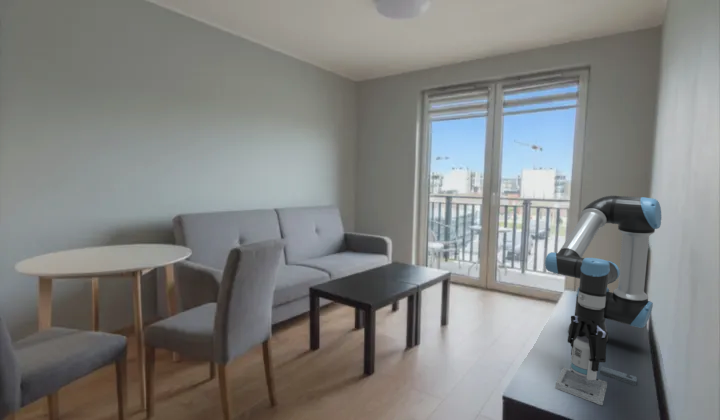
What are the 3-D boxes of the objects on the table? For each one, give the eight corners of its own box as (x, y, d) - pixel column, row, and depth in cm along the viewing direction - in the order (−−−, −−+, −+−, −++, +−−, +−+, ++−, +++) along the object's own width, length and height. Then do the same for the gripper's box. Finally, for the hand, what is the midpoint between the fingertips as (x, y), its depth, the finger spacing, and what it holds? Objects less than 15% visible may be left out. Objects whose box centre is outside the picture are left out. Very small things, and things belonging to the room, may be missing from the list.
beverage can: (598, 381, 114) (603, 345, 113) (575, 378, 115) (579, 342, 114) (588, 370, 120) (592, 336, 119) (567, 367, 122) (570, 333, 121)
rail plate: (562, 372, 127) (563, 367, 127) (606, 387, 119) (607, 382, 119) (555, 388, 117) (555, 382, 117) (602, 405, 109) (603, 399, 109)
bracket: (600, 370, 131) (601, 365, 131) (636, 382, 124) (637, 376, 124) (599, 375, 128) (600, 369, 128) (635, 387, 121) (636, 381, 121)
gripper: (560, 295, 125) (553, 357, 127) (603, 317, 105) (594, 390, 107) (579, 295, 126) (572, 357, 128) (626, 318, 106) (617, 390, 108)
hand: (582, 372), depth 118 cm, fingers closed on beverage can, 7 cm apart
